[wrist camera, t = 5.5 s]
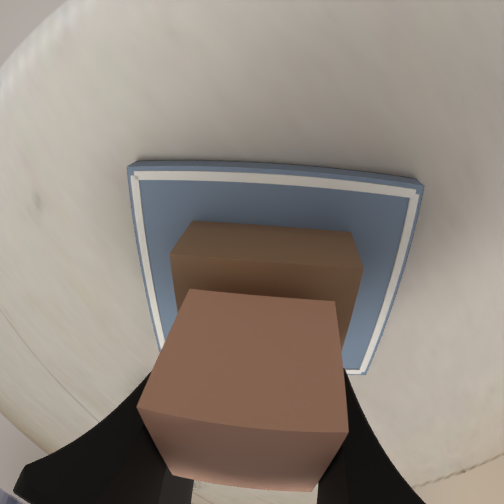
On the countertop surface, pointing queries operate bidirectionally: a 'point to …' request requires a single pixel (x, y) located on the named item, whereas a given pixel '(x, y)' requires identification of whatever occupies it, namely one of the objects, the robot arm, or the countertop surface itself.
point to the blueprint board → (281, 211)
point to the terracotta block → (249, 391)
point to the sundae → (176, 489)
